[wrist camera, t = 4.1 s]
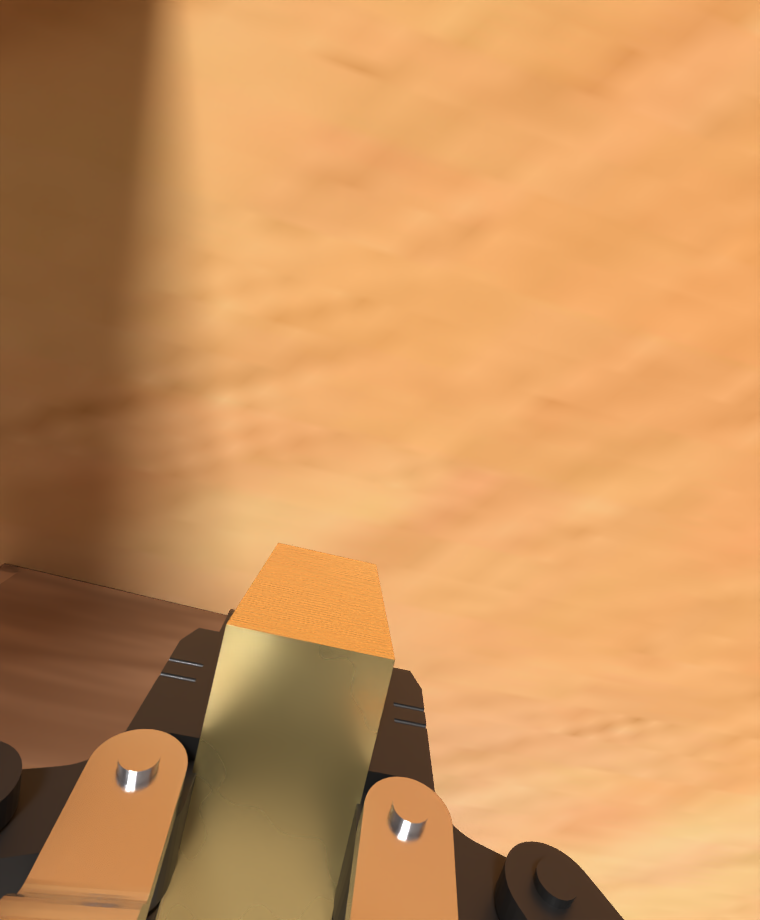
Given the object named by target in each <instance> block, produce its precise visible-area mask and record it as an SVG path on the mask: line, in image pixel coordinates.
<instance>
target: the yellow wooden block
mask: <svg viewBox="0 0 760 920" xmlns="http://www.w3.org/2000/svg"><path fill="white" fill-rule="evenodd" d="M394 662H395V658H394V653H393V647H392V642H391V637H390V632H389V627H388V622H387V617H386V612H385V607H384V602H383V597H382V592H381V587H380V582H379V577H378V572H377V567H376V564H371V563H367V562H362V561H358V560H353V559H349V558H344V557H340V556H335V555H331V554H326V553H322V552H317V551H313V550H308V549H304V548H299V547H295V546H290V545H286V544H281V543H278V544H277V546H276V547H275V549H274V551H273V552H272V554H271V555H270V557H269V558H268V560H267V562H266V563H265V565H264V566H263V568H262V569H261V571H260V572H259V574H258V576H257V577H256V579H255V580H254V582H253V583H252V585H251V587H250V588H249V590H248V591H247V593H246V594H245V596H244V597H243V599H242V601H241V602H240V604H239V605H238V607H237V608H236V610H235V612H234V613H233V615H232V616H231V618H230V619H229V621H228V622H227V624H226V628H225V632H224V636H223V641H222V645H221V649H220V654H219V658H218V663H217V667H216V671H215V676H214V680H213V684H212V689H211V693H210V697H209V702H208V706H207V710H206V715H205V719H204V724H203V728H202V732H201V737H200V741H199V745H198V750H197V754H196V758H195V763H194V767H193V771H192V772H193V773H196V778H195V782H194V787H193V791H192V796H191V800H190V804H189V809H188V813H187V818H186V822H185V827H184V831H183V835H182V840H181V844H180V849H179V853H178V858H177V862H176V866H175V871H174V873H173V876H172V879H171V882H170V884H169V887H168V889H167V891H166V893H165V895H164V898H163V902H162V907H161V911H160V915H159V920H330V919H331V915H332V912H333V908H334V897H335V893H336V888H337V884H338V880H339V876H340V872H341V868H342V863H343V859H344V855H345V851H346V847H347V842H348V838H349V834H350V830H351V826H352V821H353V817H354V813H355V809H356V805H357V804H360V802H361V798H362V794H363V790H364V786H365V782H366V777H367V773H368V769H369V765H370V761H371V757H372V753H373V749H374V744H375V740H376V736H377V732H378V728H379V724H380V720H381V716H382V711H383V707H384V703H385V699H386V695H387V691H388V687H389V683H390V678H391V674H392V670H393V666H394Z"/></svg>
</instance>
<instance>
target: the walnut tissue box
mask: <svg viewBox="0 0 760 920" xmlns="http://www.w3.org/2000/svg"><path fill="white" fill-rule="evenodd" d="M226 617H227V615H223V614H219V613H214V612H210V611H206V610H202V609H197V608H193V607H189V606H184V605H180V604H176V603H172V602H167V601H163V600H159V599H154V598H150V597H146V596H142V595H137V594H133V593H129V592H124V591H120V590H116V589H112V588H107V587H103V586H99V585H94V584H90V583H86V582H82V581H77V580H73V579H69V578H65V577H60V576H56V575H52V574H47V573H43V572H39V571H35V570H30V569H26V568H22V567H17V566H13V565H9V564H3V565H2V566H0V741H2V742H4V743H7V744H9V745H10V746H12V747H13V748H15V749H16V751H17V752H18V753H19V755H20V757H21V759H22V769H31V768H42V767H54V766H63V765H71V764H75V763H79V762H82V761H85V760H88V759H89V758H90V757H91V755H92V754H93V752H94V751H95V750H96V749H97V748H98V747H99V746H100V745H101V744H103V743H104V742H105V741H107V740H108V739H110V738H112V737H114V736H116V735H118V734H120V733H124V732H125V731H126V730H127V728H128V726H129V725H130V723H131V721H132V720H133V718H134V716H135V715H136V713H137V711H138V710H139V708H140V706H141V705H142V703H143V701H144V700H145V698H146V696H147V695H148V693H149V691H150V690H151V688H152V686H153V685H154V683H155V681H156V680H157V678H158V676H160V674H161V671H162V670H163V668H164V666H165V665H166V663H167V661H169V659H170V656H171V655H172V653H173V651H174V650H175V648H176V646H177V645H178V643H179V641H180V640H181V639H183V638H184V637H186V636H187V635H189V634H190V633H192V632H193V631H195V630H196V629H198V628H203V629H208V630H213V631H218V632H220V630H221V628H222V625H223V623H224V621H225V619H226ZM163 898H164V896H163ZM162 902H163V900H162ZM161 907H162V906H161ZM160 911H161V910H160ZM159 915H160V913H159ZM158 920H159V917H158Z"/></svg>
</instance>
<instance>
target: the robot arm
mask: <svg viewBox="0 0 760 920" xmlns="http://www.w3.org/2000/svg"><path fill="white" fill-rule="evenodd" d="M234 612H235V610H234V609H231V610H230V611H229V613H228V615H227V617H226V619H225V621H224V623H223V625H222V628H221V630H220V632H218V631H213V630H208V629H203V628H198V629H196V630H195V631H193V632H192V633H190V634H189V635H187V636H186V637H184V638H183V639H181V640H180V641H179V643H178V645H177V646H176V648H175V650H174V651H173V653H172V655H171V656H170V659H169V661H167V663H166V665H165V666H164V668H163V670H162V671H161V674H160V676H158V678H157V680H156V681H155V683H154V685H153V686H152V688H151V690H150V691H149V693H148V695H147V696H146V698H145V700H144V701H143V703H142V705H141V706H140V708H139V710H138V711H137V713H136V715H135V716H134V718H133V720H132V721H131V723H130V725H129V726H128V728H127V730H126V731H125V732H124V733H120V734H118V735H116V736H114V737H112V738H110V739H108V740H107V741H105V742H104V743H103V744H101V745H100V746H99V747H98V748H97V749H96V750H95V751H94V752H93V754H92V755H91V757H90V758H89V759H88V760H85V761H82V762H79V763H75V764H71V765H63V766H54V767H42V768H31V769H22V759H21V757H20V755H19V753H18V752H17V751H16V749H15V748H13V747H12V746H10V745H9V744H7V743H4V742H2V741H0V920H158V917H159V913H160V910H161V906H162V900H163V896H164V895H165V893H166V891H167V889H168V887H169V884H170V882H171V879H172V876H173V873H174V871H175V866H176V862H177V858H178V853H179V849H180V844H181V840H182V835H183V831H184V827H185V822H186V818H187V813H188V809H189V804H190V800H191V796H192V791H193V787H194V782H195V778H196V773H193V772H192V771H193V767H194V763H195V758H196V754H197V750H198V745H199V741H200V737H201V732H202V728H203V724H204V719H205V715H206V710H207V706H208V702H209V697H210V693H211V689H212V684H213V680H214V676H215V671H216V667H217V663H218V658H219V654H220V649H221V645H222V641H223V636H224V632H225V628H226V624H227V622H228V621H229V619H230V618H231V616H232V615H233V613H234ZM330 920H624V919H623V918H622V917H621V916H620V914H619V913H618V912H617V911H616V910H615V908H614V907H613V906H612V905H611V903H610V902H609V901H608V900H607V899H606V897H605V896H604V895H603V894H602V893H601V891H600V890H599V889H598V888H597V886H596V885H595V884H594V883H593V882H592V880H591V879H590V878H589V877H588V876H587V874H586V873H585V872H584V871H583V870H582V869H581V868H580V866H579V865H578V864H577V863H575V862H574V861H573V860H572V859H571V858H570V857H568V856H567V855H566V854H564V853H563V852H561V851H559V850H558V849H556V848H554V847H552V846H549V845H547V844H543V843H540V842H524V843H520V844H518V845H516V846H515V847H514V848H513V849H512V850H511V851H510V852H509V854H508V856H507V858H506V857H504V856H502V855H500V854H498V853H496V852H494V851H492V850H490V849H488V848H486V847H484V846H482V845H480V844H478V843H476V842H475V841H473V840H471V839H469V838H468V837H466V836H465V835H464V834H462V833H461V832H460V831H459V830H458V829H457V828H455V827H454V826H453V825H452V819H451V816H450V813H449V811H448V809H447V807H446V805H445V804H444V802H443V801H442V799H441V798H440V797H439V796H438V795H437V794H436V793H435V790H434V782H433V774H432V766H431V759H430V751H429V743H428V735H427V729H426V719H425V712H424V703H423V696H422V689H421V687H420V686H419V684H418V683H417V681H416V680H415V678H414V676H413V675H412V673H411V672H410V671H408V670H403V669H398V668H393V670H392V674H391V678H390V683H389V687H388V691H387V695H386V699H385V703H384V707H383V711H382V716H381V720H380V724H379V728H378V732H377V736H376V740H375V744H374V749H373V753H372V757H371V761H370V765H369V769H368V773H367V777H366V782H365V786H364V790H363V794H362V798H361V802H360V804H357V805H356V809H355V813H354V817H353V821H352V826H351V830H350V834H349V838H348V842H347V847H346V851H345V855H344V859H343V863H342V868H341V872H340V876H339V880H338V884H337V888H336V893H335V897H334V908H333V912H332V915H331V919H330Z"/></svg>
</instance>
